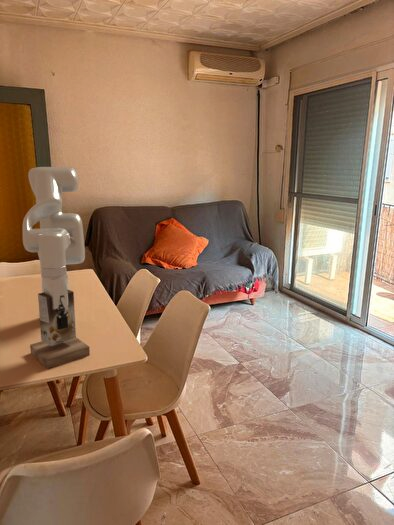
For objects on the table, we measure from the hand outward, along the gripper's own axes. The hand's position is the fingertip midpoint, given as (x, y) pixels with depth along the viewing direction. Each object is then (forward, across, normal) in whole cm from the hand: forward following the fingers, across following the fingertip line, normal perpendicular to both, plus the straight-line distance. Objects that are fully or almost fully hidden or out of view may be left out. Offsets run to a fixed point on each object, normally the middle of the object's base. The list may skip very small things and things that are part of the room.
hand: (57, 324), depth 128 cm
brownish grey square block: (+10, 0, 0) cm, 10 cm away
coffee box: (+5, 0, 0) cm, 5 cm away
